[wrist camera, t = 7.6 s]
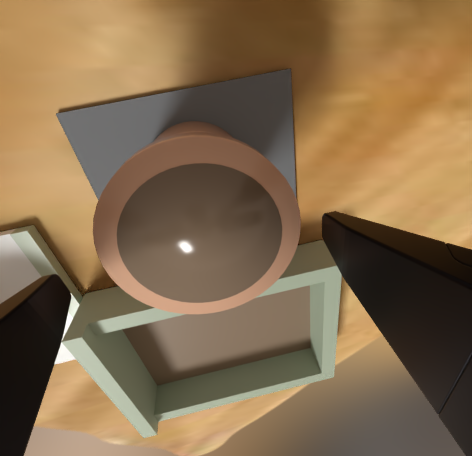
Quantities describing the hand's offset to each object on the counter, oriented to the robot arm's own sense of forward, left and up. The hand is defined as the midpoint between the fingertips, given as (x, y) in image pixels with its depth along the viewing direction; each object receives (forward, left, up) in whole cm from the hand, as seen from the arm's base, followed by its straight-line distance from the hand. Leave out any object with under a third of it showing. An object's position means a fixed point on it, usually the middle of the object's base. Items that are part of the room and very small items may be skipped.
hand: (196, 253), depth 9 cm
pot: (0, 0, -8) cm, 8 cm away
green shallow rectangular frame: (+1, +14, -8) cm, 16 cm away
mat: (0, 0, -8) cm, 8 cm away
